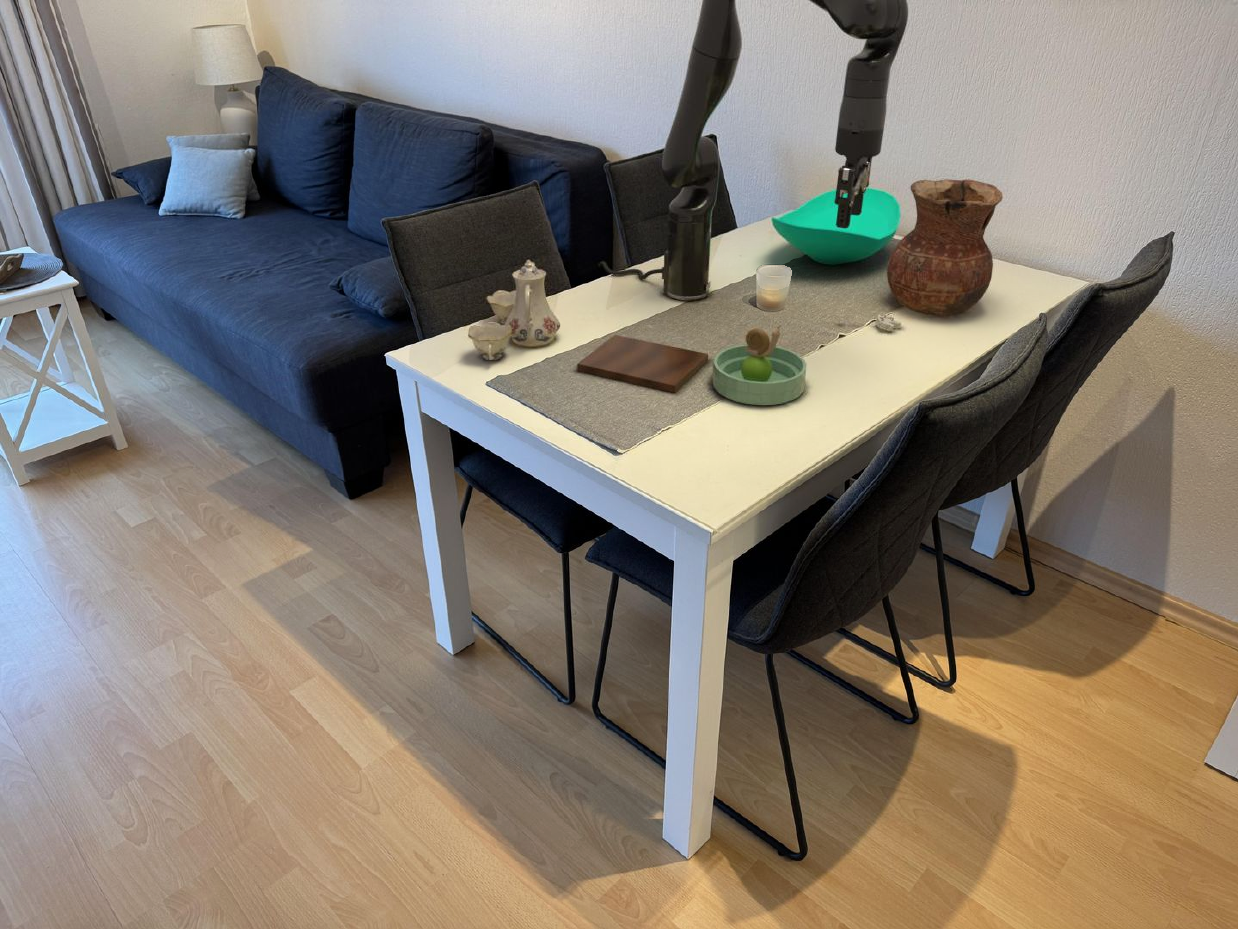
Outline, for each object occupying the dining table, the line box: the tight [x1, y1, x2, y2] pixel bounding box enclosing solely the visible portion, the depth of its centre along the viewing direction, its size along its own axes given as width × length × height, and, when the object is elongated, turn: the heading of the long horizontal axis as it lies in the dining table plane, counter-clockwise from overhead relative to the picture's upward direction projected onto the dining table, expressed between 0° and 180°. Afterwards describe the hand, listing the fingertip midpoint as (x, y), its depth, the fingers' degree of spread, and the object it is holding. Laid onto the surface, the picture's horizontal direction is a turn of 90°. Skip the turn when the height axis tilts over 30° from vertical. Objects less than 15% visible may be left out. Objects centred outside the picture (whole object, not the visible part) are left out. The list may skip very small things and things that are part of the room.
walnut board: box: [576, 334, 709, 394], centre depth 164 cm, size 20×15×2 cm
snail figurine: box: [741, 323, 782, 382], centre depth 154 cm, size 5×6×12 cm
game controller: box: [843, 313, 902, 332], centre depth 178 cm, size 6×12×3 cm, turn 100°
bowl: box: [711, 343, 808, 406], centre depth 156 cm, size 16×16×4 cm
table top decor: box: [771, 187, 902, 266], centre depth 212 cm, size 40×28×13 cm
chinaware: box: [467, 259, 561, 361], centre depth 172 cm, size 28×17×17 cm, turn 1°
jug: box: [886, 178, 1004, 317], centre depth 183 cm, size 22×21×25 cm
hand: (848, 220), depth 155 cm, fingers open, 8 cm apart
